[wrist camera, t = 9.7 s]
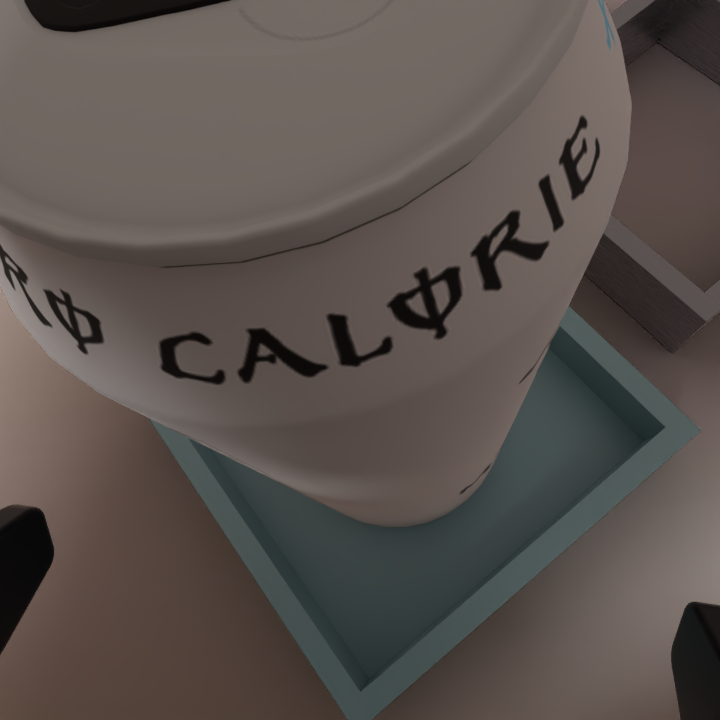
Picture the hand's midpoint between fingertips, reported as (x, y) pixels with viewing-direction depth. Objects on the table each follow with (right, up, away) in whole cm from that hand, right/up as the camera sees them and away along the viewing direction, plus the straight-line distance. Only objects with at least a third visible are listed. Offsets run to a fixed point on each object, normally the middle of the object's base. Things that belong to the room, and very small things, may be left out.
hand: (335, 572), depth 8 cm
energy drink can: (+2, +1, +10) cm, 10 cm away
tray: (+2, +1, +10) cm, 10 cm away
